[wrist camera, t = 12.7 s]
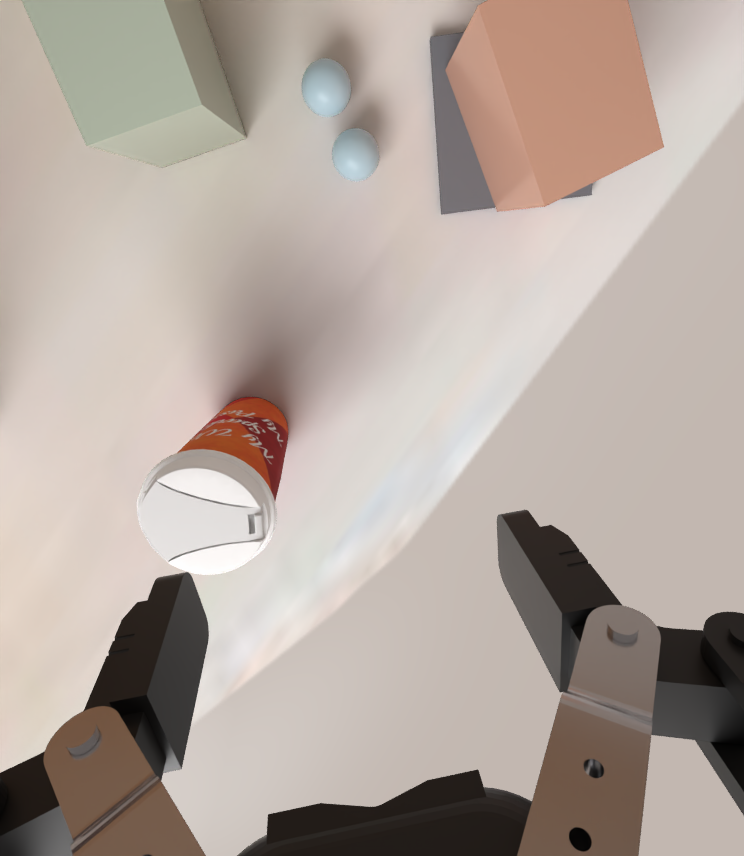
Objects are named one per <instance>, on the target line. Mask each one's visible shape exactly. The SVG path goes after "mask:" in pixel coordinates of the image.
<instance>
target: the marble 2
mask: <svg viewBox="0 0 744 856" xmlns="http://www.w3.org/2000/svg"><path fill="white" fill-rule="evenodd" d="M332 159H333V163H334V166H335V168H336V170H337V171H338V173H339V174H340V175H341V176H342V177H344V178H345V179H347V180H350V181H362V180H365V179H367V178H368V177H370V176H371V175H372V174H373V173H374V171H375V170H376V168H377V166H378V162H379V148H378V145H377V142H376V140H375V139H374V137H373V136H372V135H371V134H370V133H369V132H367V131H365V130H363V129H360V128H351V129H348V130H345V131H344V132H342V133H341V134H340V135H339V136H338V137H337V139H336V141H335V143H334V145H333V149H332Z"/></svg>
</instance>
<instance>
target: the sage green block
mask: <svg viewBox="0 0 744 856" xmlns="http://www.w3.org/2000/svg"><path fill="white" fill-rule="evenodd" d="M22 2H23V4H24V7H25V9H26V11H27V13H28V16H29V18H30V20H31V22H32V25H33V27H34V29H35V31H36V34H37V36H38V38H39V40H40V42H41V45H42V47H43V49H44V51H45V54H46V56H47V58H48V60H49V63H50V65H51V67H52V69H53V72H54V74H55V76H56V78H57V81H58V83H59V85H60V87H61V90H62V92H63V94H64V96H65V99H66V101H67V103H68V105H69V108H70V110H71V112H72V114H73V117H74V119H75V121H76V123H77V126H78V128H79V130H80V132H81V134H82V137H83V139H84V141H85V143H86V146H88V147H92V148H95V149H99V150H102V151H106V152H109V153H112V154H116V155H119V156H123V157H126V158H130V159H133V160H137V161H140V162H144V163H147V164H151V165H154V166H158V167H161V168H163V167H166V166H169V165H172V164H174V163H177V162H180V161H183V160H186V159H189V158H192V157H194V156H197V155H200V154H203V153H206V152H209V151H212V150H214V149H217V148H220V147H223V146H226V145H229V144H232V143H235V142H237V141H240V140H243V139H246V138H247V137H246V134H245V131H244V129H243V126H242V123H241V120H240V117H239V114H238V111H237V108H236V105H235V102H234V99H233V97H232V94H231V91H230V88H229V85H228V82H227V79H226V76H225V73H224V70H223V68H222V65H221V62H220V59H219V56H218V53H217V50H216V47H215V44H214V41H213V38H212V36H211V33H210V30H209V27H208V24H207V21H206V18H205V15H204V12H203V9H202V7H201V4H200V1H199V0H22Z"/></svg>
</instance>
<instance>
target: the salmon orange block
mask: <svg viewBox="0 0 744 856" xmlns="http://www.w3.org/2000/svg"><path fill="white" fill-rule="evenodd" d="M445 71H446V73H447V76H448V79H449V82H450V84H451V87H452V90H453V92H454V95H455V98H456V101H457V103H458V106H459V109H460V112H461V114H462V117H463V120H464V122H465V125H466V128H467V131H468V133H469V136H470V139H471V142H472V144H473V147H474V150H475V152H476V155H477V158H478V161H479V163H480V166H481V169H482V172H483V174H484V177H485V180H486V183H487V185H488V188H489V191H490V193H491V196H492V199H493V202H494V204H495V207H496V210H497V212H500V211H509V210H518V209H527V208H536V207H545V206H547V205H549V204H551V203H553V202H555V201H557V200H559V199H561V198H563V197H565V196H567V195H569V194H571V193H573V192H575V191H577V190H579V189H581V188H583V187H585V186H587V185H589V184H591V183H593V182H595V181H597V180H599V179H601V178H603V177H605V176H607V175H609V174H611V173H613V172H615V171H617V170H619V169H621V168H623V167H625V166H627V165H629V164H631V163H633V162H635V161H637V160H639V159H641V158H643V157H645V156H647V155H649V154H651V153H653V152H655V151H657V150H659V149H661V148H663V147H664V145H663V141H662V137H661V133H660V129H659V125H658V121H657V117H656V112H655V108H654V104H653V100H652V96H651V92H650V88H649V84H648V80H647V76H646V72H645V68H644V64H643V60H642V56H641V52H640V48H639V44H638V40H637V36H636V32H635V28H634V23H633V19H632V15H631V11H630V7H629V3H628V0H487V1H485V2H484V3H482V4H480V5H478V7H477V9H476V10H475V12H474V14H473V16H472V18H471V20H470V22H469V24H468V26H467V28H466V30H465V32H464V34H463V36H462V38H461V40H460V42H459V44H458V46H457V48H456V50H455V52H454V54H453V56H452V57H451V59H450V61H449V63H448V65H447V67H446V69H445Z"/></svg>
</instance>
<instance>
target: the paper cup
mask: <svg viewBox="0 0 744 856" xmlns="http://www.w3.org/2000/svg"><path fill="white" fill-rule="evenodd" d="M287 441H288V426H287V422H286V419H285V417H284V415H283V414H282V412H281V411H280V410H279V409H278V408H277V407H276V406H275V405H274V404H272V403H271V402H269V401H267V400H264V399H261V398H257V397H245V398H240V399H238V400H235V401H233V402H232V403H230V404H229V405H227V406H226V407H225V408H224V409H223V410H221V411H220V412H219V413H218V414H217V415H216V416H215V417H214V418H213V419H212V420H211V421H210V422H209V423H208V424H206V425H205V426H204V427H203V428H202V429H201V430H200V431H199V432H198V433H197V434H196V435H195V436H194V437H193V438H192V439H191V440H190V441H189V442H188V443H187V444H186V445H185V446H184V447H183V448H182V449H181V450H180V451H179V452H178V453H176V454H174V455H171V456H169V457H167V458H166V459H164V460H162V461H161V462H160V463H159V464H157V465H156V466H155V467H154V468H153V469H152V470H151V472H150V473H149V474H148V475H147V477H146V479H145V481H144V482H143V485H142V488H141V491H140V494H139V496H138V499H137V514H138V521H139V524H140V527H141V529H142V531H143V533H144V534H145V537H146V539H147V541H148V542H149V544H150V545H151V547H152V548H153V549H154V550H155V551H156V552H157V553H158V554H159V555H160V556H161V557H162V558H163V559H164V560H165V561H166V562H168V563H169V564H171V565H173V566H175V567H177V568H179V569H181V570H184V571H187V572H191V573H196V574H204V575H211V574H220V573H226V572H228V571H231V570H234V569H236V568H238V567H240V566H242V565H244V564H245V563H246V562H248V561H249V560H250V559H252V558H254V557H255V556H256V555H258V554H259V553H260V552H261V551H262V550H263V549H264V548H265V547H266V545H267V544H268V542H269V541H270V539H271V537H272V535H273V533H274V530H275V525H276V518H277V511H276V503H275V500H276V495H277V491H278V488H279V484H280V479H281V474H282V468H283V463H284V457H285V452H286V447H287Z"/></svg>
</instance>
